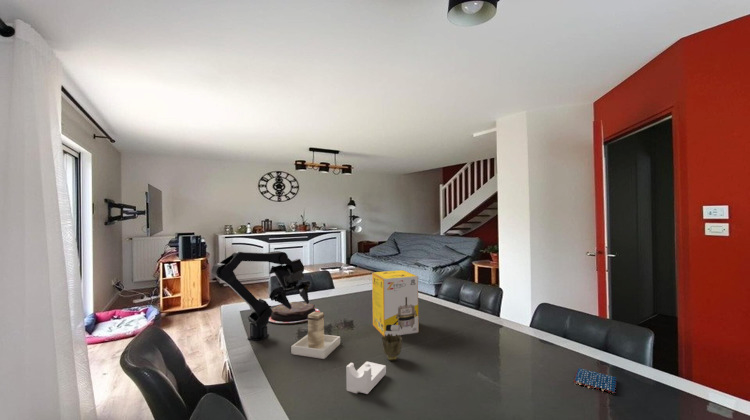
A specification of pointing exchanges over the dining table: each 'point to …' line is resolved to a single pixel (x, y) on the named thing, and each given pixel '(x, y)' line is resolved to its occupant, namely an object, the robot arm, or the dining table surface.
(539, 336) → the dining table surface
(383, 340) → the cup
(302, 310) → the chocolate cake
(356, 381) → the bracket
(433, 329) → the dining table surface
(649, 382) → the dining table surface
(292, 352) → the tray
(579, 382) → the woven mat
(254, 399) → the dining table surface
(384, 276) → the packaging box
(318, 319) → the birch block
